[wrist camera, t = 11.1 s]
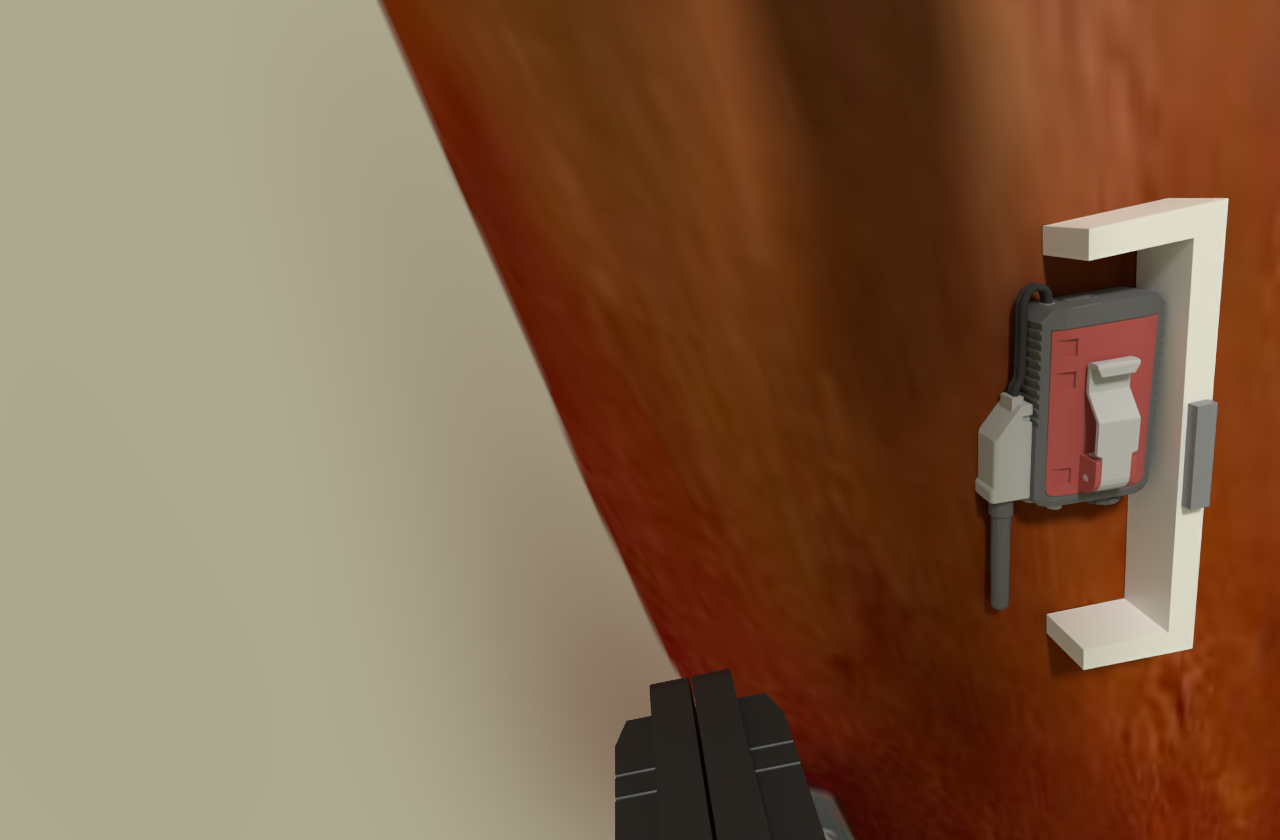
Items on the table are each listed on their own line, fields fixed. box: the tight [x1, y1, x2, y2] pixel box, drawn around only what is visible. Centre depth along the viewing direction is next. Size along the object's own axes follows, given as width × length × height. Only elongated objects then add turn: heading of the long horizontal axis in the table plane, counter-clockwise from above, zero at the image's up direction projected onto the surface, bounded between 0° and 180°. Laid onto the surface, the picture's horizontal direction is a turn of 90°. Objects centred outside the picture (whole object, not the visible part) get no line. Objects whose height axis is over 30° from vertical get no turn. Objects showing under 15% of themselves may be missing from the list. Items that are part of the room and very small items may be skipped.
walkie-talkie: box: [975, 283, 1166, 610], centre depth 36 cm, size 9×4×20 cm
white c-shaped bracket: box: [1043, 198, 1228, 670], centre depth 36 cm, size 26×6×4 cm, turn 12°
